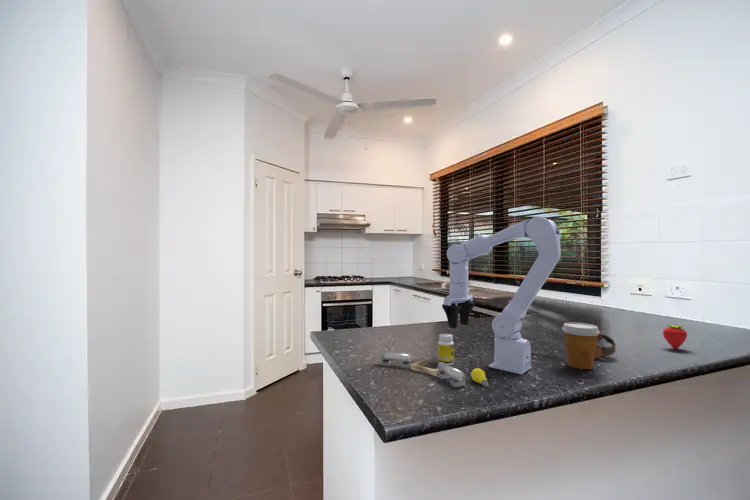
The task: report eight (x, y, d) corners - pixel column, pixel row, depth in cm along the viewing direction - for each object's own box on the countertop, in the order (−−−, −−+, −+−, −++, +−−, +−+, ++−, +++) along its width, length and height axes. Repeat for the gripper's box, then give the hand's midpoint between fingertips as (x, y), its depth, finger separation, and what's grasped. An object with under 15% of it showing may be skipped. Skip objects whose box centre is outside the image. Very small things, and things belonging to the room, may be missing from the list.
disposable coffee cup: (602, 366, 105) (602, 325, 105) (595, 374, 98) (595, 330, 98) (566, 359, 111) (566, 321, 111) (557, 366, 104) (558, 325, 104)
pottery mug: (609, 354, 119) (618, 336, 115) (609, 374, 112) (619, 355, 108) (569, 341, 124) (576, 323, 120) (567, 359, 117) (575, 340, 113)
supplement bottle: (453, 366, 104) (454, 337, 104) (437, 365, 105) (437, 336, 105) (453, 361, 108) (453, 333, 108) (437, 360, 109) (438, 332, 109)
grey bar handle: (412, 365, 104) (412, 353, 104) (410, 368, 101) (410, 356, 101) (382, 362, 107) (382, 350, 107) (379, 365, 104) (379, 353, 104)
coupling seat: (448, 370, 100) (448, 365, 100) (434, 376, 95) (435, 370, 95) (424, 363, 106) (425, 359, 106) (410, 369, 101) (410, 364, 101)
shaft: (436, 376, 95) (436, 362, 95) (446, 374, 96) (446, 361, 96) (455, 388, 87) (456, 373, 87) (466, 386, 88) (466, 371, 88)
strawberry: (657, 347, 126) (657, 319, 126) (673, 346, 128) (673, 318, 128) (675, 352, 121) (675, 322, 121) (692, 350, 123) (692, 321, 123)
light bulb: (477, 378, 94) (482, 366, 93) (489, 393, 88) (495, 380, 88) (466, 375, 93) (472, 364, 92) (478, 390, 87) (484, 378, 87)
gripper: (459, 281, 120) (458, 321, 120) (435, 283, 110) (434, 327, 110) (478, 282, 115) (478, 324, 115) (455, 284, 105) (455, 331, 105)
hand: (458, 326), depth 112 cm, fingers open, 6 cm apart
